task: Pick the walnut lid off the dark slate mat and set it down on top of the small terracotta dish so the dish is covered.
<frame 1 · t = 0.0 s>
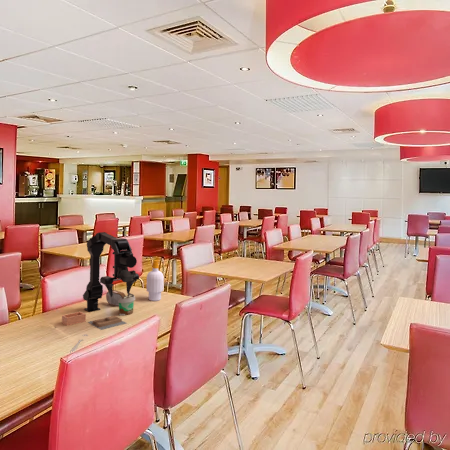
hand: (119, 295, 197), 15 cm above the table, tool pointing down, fingers open, 9 cm apart
dish: (73, 323, 196), on the table
soap bottle: (154, 299, 242), on the table
lid: (107, 322, 197), point 1 cm above the table, touching mat
tin: (116, 305, 227), on the table
food container: (128, 314, 213), on the table
spoon: (77, 347, 170), on the table
mat: (107, 324, 197), on the table
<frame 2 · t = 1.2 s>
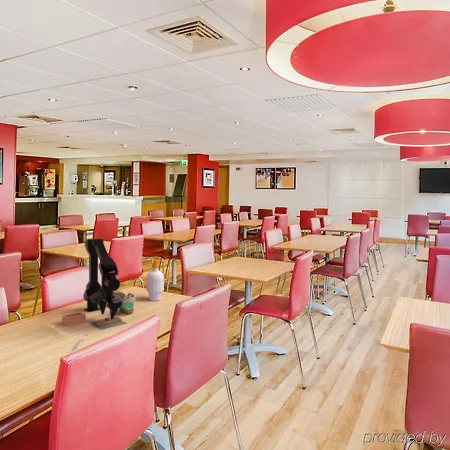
hand: (107, 316, 197), 4 cm above the table, tool pointing down, fingers open, 9 cm apart
nothing on the table moved.
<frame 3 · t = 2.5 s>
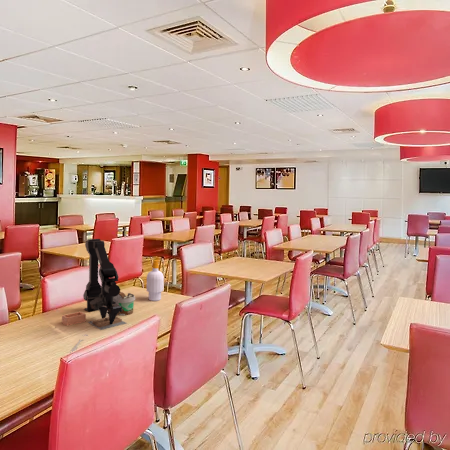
hand: (107, 322, 197), 1 cm above the table, tool pointing down, fingers closed on lid, 7 cm apart
lid: (107, 322, 197), point 1 cm above the table, touching gripper, mat
everything else where it was.
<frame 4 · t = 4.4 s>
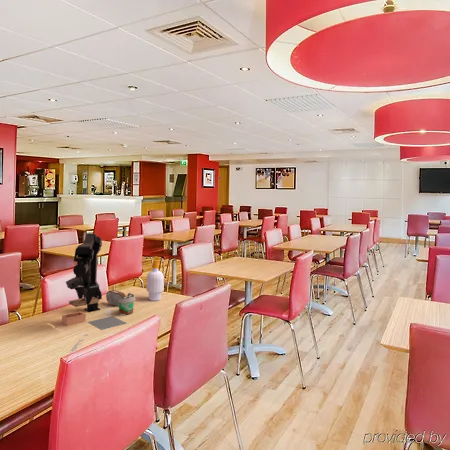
hand: (84, 302, 195), 11 cm above the table, tool pointing down, fingers closed on lid, 7 cm apart
lid: (84, 302, 195), point 11 cm above the table, touching gripper
everything else where it was.
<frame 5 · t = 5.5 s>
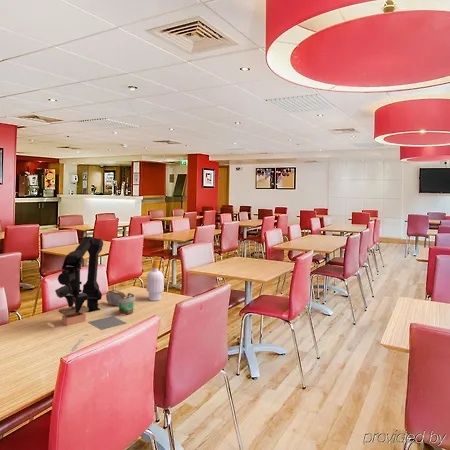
hand: (73, 310, 196), 7 cm above the table, tool pointing down, fingers closed on lid, 7 cm apart
lid: (73, 311, 196), point 6 cm above the table, touching gripper
everything else where it was.
when the fingers open (6 cm above the table, at t = 6.6 s): lid drops 1 cm, resting on dish.
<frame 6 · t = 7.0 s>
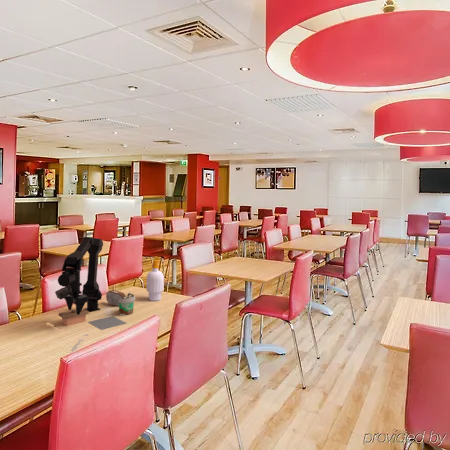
hand: (73, 312, 196), 6 cm above the table, tool pointing down, fingers open, 9 cm apart
lid: (73, 314, 196), point 4 cm above the table, touching dish
everything else where it was.
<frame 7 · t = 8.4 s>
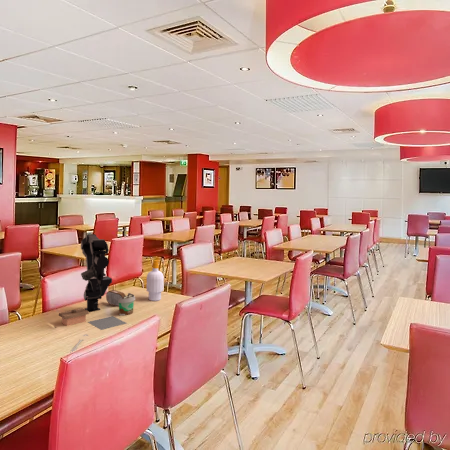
hand: (98, 293, 204), 13 cm above the table, tool pointing down, fingers open, 9 cm apart
nothing on the table moved.
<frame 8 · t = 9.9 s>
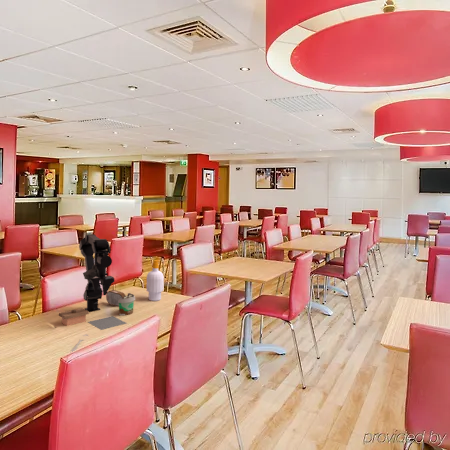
hand: (100, 293, 205), 13 cm above the table, tool pointing down, fingers open, 9 cm apart
nothing on the table moved.
at the end: lid 0.0 cm off-centre on the dish, point 4.5 cm above the dish's base; lid tilted 0°; the gripper is holding nothing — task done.
